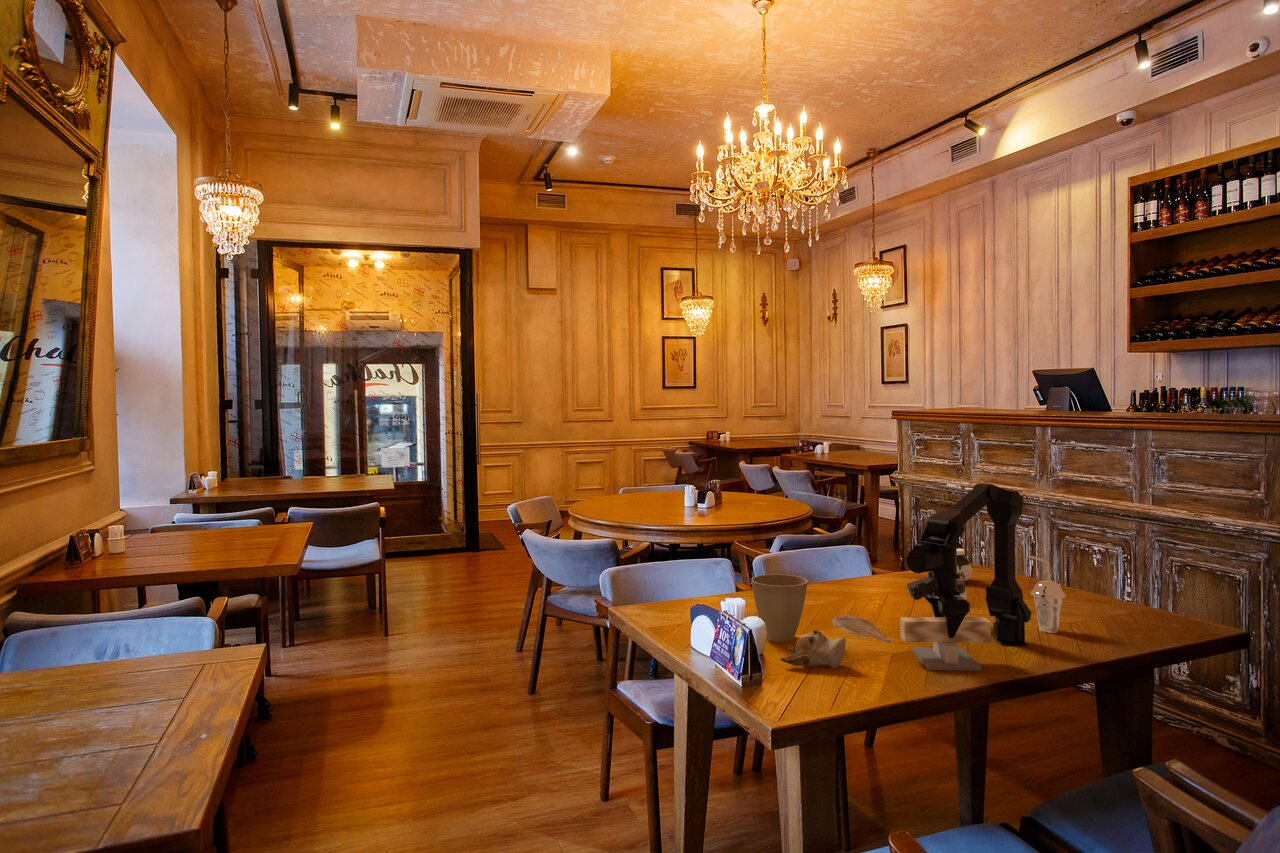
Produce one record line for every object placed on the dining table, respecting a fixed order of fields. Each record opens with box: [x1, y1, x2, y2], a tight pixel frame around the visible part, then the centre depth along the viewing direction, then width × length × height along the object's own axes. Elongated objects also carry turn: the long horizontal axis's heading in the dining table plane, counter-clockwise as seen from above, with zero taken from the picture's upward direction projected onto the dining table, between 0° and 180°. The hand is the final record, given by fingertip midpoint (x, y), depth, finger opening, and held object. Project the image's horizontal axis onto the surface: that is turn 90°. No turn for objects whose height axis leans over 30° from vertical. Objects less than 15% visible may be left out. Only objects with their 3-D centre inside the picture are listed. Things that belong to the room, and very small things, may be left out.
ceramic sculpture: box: [779, 630, 847, 669], centre depth 181 cm, size 11×9×15 cm
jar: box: [932, 580, 968, 617], centre depth 214 cm, size 9×8×12 cm
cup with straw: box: [1027, 554, 1067, 634], centre depth 206 cm, size 8×9×20 cm
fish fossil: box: [831, 614, 892, 643], centre depth 210 cm, size 26×10×1 cm, turn 16°
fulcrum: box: [911, 642, 982, 672], centre depth 183 cm, size 12×14×5 cm
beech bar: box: [899, 616, 992, 644], centre depth 183 cm, size 20×4×5 cm, turn 85°
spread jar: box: [957, 548, 973, 584], centre depth 268 cm, size 12×11×12 cm
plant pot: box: [750, 573, 809, 643], centre depth 203 cm, size 15×15×16 cm
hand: (945, 632), depth 183 cm, fingers open, 9 cm apart
